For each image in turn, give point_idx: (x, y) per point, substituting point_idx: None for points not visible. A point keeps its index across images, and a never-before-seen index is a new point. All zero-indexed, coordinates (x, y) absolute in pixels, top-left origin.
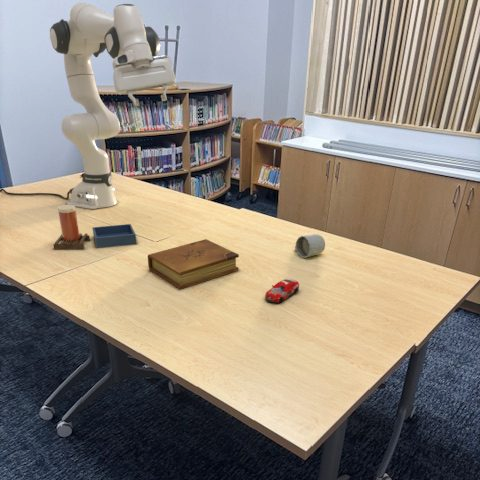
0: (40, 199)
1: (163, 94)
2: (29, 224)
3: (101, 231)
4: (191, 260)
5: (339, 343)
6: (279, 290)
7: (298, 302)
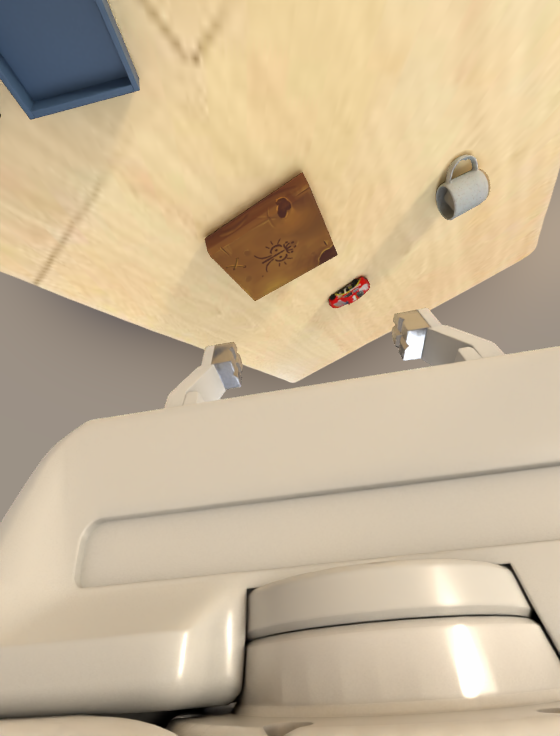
0: None
1: (417, 357)
2: None
3: None
4: (272, 273)
5: (346, 337)
6: (343, 303)
7: None
